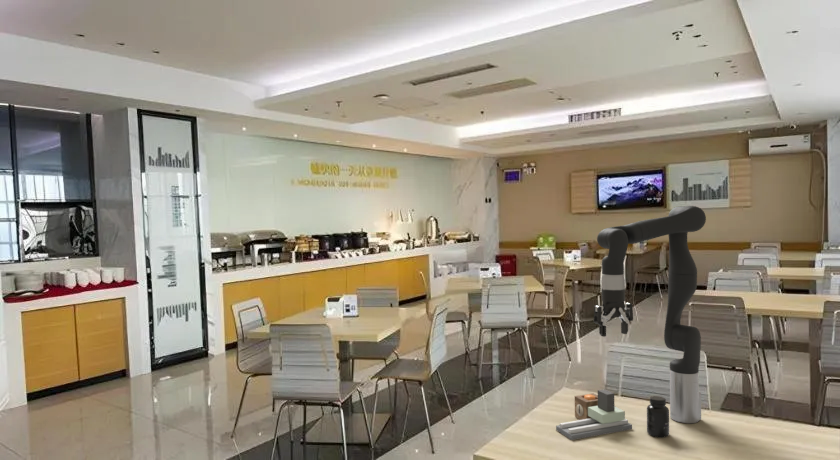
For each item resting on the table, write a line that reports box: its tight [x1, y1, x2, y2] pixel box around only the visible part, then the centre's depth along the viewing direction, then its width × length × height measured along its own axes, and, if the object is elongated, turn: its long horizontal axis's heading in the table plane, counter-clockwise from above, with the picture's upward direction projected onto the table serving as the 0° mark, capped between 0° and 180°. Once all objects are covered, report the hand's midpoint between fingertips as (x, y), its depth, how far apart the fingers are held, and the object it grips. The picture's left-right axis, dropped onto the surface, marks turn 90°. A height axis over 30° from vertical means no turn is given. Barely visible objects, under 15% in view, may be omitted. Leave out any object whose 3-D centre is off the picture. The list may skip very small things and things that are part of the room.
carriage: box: [588, 388, 626, 424], centre depth 188 cm, size 9×8×9 cm
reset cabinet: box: [574, 392, 598, 420], centre depth 196 cm, size 9×7×8 cm
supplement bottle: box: [646, 395, 670, 438], centre depth 181 cm, size 7×7×12 cm
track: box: [555, 418, 633, 441], centre depth 186 cm, size 24×9×3 cm, turn 109°
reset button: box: [583, 393, 595, 400], centre depth 196 cm, size 4×4×4 cm
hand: (613, 335), depth 186 cm, fingers open, 8 cm apart
